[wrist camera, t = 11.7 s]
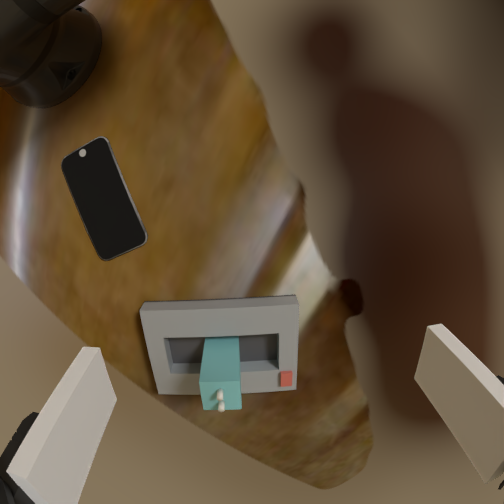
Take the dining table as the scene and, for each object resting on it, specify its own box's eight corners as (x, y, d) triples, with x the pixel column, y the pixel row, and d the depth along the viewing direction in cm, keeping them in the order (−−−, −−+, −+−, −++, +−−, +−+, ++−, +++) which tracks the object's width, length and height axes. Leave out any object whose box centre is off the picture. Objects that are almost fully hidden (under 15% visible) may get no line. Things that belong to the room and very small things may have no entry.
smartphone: (104, 132, 35) (150, 242, 39) (107, 132, 35) (151, 240, 40) (57, 160, 35) (101, 263, 39) (60, 160, 36) (103, 262, 40)
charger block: (205, 336, 43) (197, 389, 32) (238, 334, 43) (239, 389, 32) (208, 362, 44) (202, 417, 33) (240, 361, 44) (241, 417, 34)
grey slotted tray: (144, 301, 41) (138, 312, 38) (295, 294, 42) (299, 306, 39) (162, 382, 46) (158, 396, 42) (292, 377, 46) (296, 392, 43)
